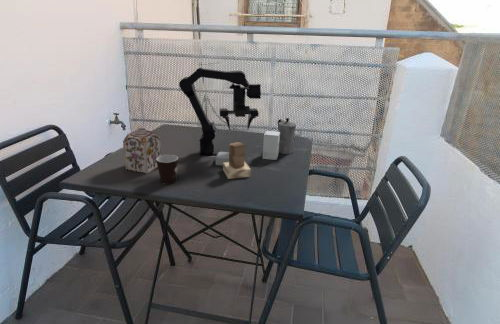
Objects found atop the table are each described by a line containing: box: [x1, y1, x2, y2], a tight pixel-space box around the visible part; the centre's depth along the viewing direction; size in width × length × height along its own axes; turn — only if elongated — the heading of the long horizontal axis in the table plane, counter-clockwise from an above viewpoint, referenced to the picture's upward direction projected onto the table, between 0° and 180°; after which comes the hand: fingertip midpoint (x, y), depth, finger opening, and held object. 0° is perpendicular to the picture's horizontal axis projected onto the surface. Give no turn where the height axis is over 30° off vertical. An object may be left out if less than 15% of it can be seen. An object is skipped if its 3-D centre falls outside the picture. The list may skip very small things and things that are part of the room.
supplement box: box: [262, 130, 280, 161], centre depth 166 cm, size 7×7×13 cm
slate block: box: [215, 151, 229, 166], centre depth 159 cm, size 8×8×4 cm
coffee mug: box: [156, 154, 179, 185], centre depth 138 cm, size 12×9×10 cm
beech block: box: [222, 160, 252, 180], centre depth 148 cm, size 10×10×4 cm
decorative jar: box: [122, 127, 163, 174], centre depth 148 cm, size 12×12×18 cm
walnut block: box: [228, 141, 246, 169], centre depth 145 cm, size 4×5×10 cm
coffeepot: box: [277, 117, 297, 155], centre depth 174 cm, size 15×9×18 cm, turn 26°
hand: (238, 129), depth 166 cm, fingers open, 9 cm apart
